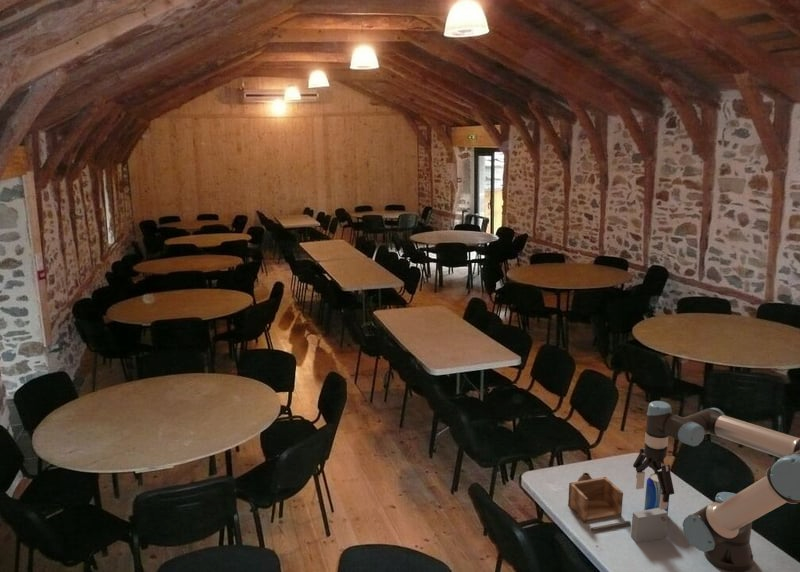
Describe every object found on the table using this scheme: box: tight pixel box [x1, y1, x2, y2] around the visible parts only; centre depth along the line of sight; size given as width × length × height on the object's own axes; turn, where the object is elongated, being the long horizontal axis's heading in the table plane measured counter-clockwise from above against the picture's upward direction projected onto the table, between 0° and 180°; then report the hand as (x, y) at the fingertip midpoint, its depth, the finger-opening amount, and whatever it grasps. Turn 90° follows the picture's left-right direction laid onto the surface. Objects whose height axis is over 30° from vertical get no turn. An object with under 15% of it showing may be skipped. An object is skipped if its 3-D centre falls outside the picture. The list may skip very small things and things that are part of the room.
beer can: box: [643, 472, 670, 513], centre depth 250 cm, size 8×8×16 cm
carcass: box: [567, 476, 632, 533], centre depth 251 cm, size 18×16×10 cm
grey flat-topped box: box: [630, 508, 669, 543], centre depth 237 cm, size 5×12×10 cm, turn 105°
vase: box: [576, 472, 593, 482], centre depth 266 cm, size 7×7×9 cm
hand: (651, 498), depth 235 cm, fingers open, 13 cm apart
